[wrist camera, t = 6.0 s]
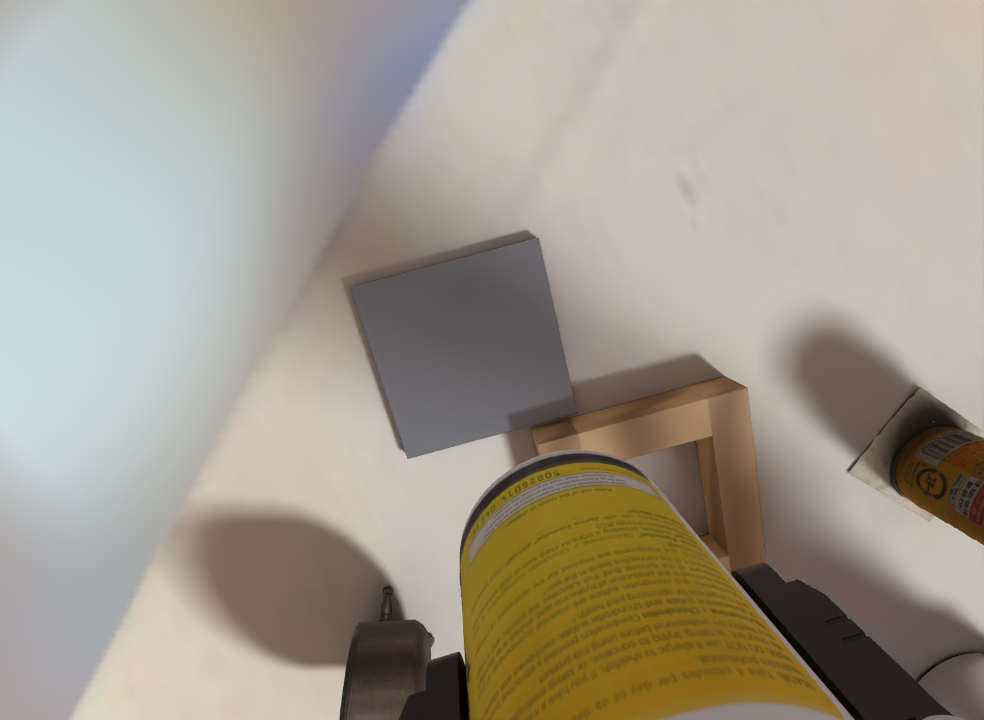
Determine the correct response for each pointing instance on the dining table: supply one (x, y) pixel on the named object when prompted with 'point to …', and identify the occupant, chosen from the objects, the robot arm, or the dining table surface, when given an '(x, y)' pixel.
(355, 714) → the alarm clock
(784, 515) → the dining table surface
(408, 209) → the dining table surface
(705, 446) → the wooden square frame
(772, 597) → the robot arm
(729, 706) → the pill bottle
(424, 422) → the slate coaster
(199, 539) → the dining table surface
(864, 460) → the condiment
